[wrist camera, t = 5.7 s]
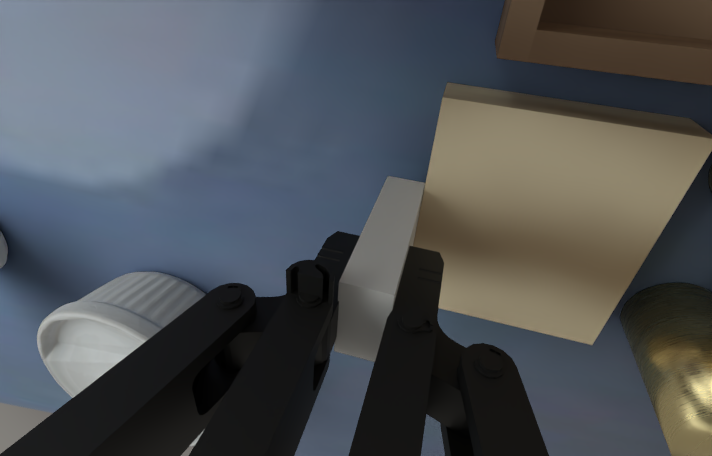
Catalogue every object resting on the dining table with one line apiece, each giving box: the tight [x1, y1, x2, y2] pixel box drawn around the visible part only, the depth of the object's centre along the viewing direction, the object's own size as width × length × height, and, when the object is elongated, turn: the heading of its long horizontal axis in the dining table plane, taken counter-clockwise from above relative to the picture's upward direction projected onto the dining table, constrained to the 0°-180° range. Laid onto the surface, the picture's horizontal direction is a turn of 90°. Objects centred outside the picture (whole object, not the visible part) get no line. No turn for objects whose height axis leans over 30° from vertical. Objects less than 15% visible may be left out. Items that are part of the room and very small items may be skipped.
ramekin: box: [37, 272, 206, 447], centre depth 25 cm, size 11×11×5 cm
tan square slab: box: [413, 82, 712, 345], centre depth 16 cm, size 9×8×2 cm
